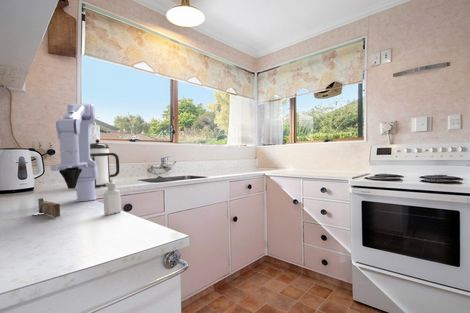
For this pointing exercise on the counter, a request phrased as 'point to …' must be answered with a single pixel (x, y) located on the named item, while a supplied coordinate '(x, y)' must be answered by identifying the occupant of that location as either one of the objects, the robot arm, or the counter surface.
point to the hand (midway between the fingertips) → (71, 188)
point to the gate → (51, 208)
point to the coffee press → (102, 162)
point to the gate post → (40, 204)
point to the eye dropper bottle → (112, 199)
